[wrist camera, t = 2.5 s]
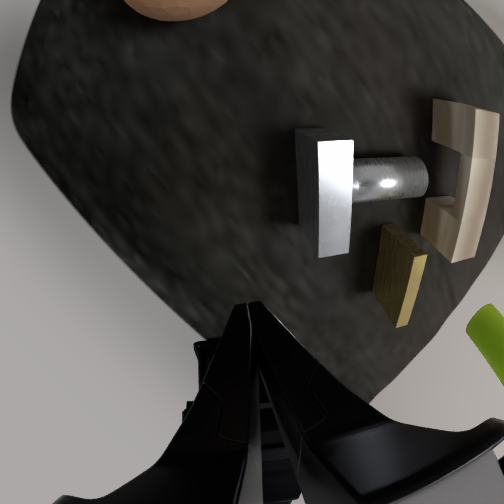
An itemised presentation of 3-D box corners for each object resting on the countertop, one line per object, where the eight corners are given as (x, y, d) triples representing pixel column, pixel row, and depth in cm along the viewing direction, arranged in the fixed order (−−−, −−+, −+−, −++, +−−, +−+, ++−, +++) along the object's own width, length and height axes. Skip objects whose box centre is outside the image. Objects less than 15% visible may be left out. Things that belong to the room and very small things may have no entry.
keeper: (372, 291, 26) (395, 327, 22) (381, 224, 23) (414, 257, 19) (382, 289, 27) (407, 324, 22) (393, 222, 23) (427, 254, 19)
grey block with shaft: (298, 224, 22) (318, 257, 18) (294, 129, 18) (317, 142, 14) (401, 210, 22) (433, 237, 18) (408, 127, 19) (447, 141, 15)
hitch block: (420, 233, 24) (451, 262, 20) (432, 98, 17) (475, 108, 13) (443, 229, 24) (474, 256, 20) (457, 102, 18) (499, 113, 14)
